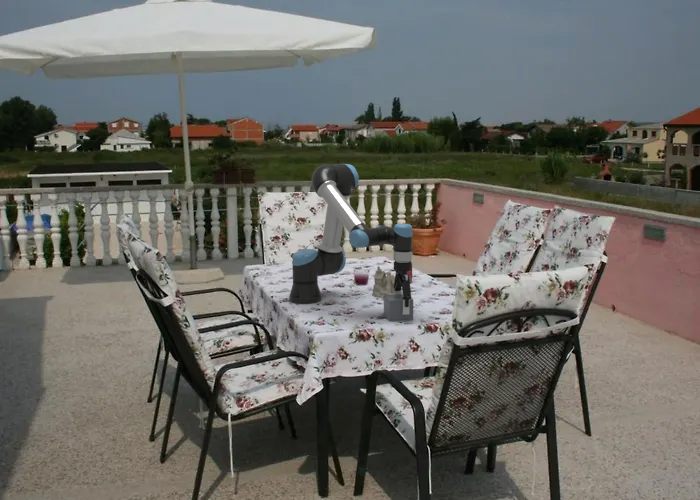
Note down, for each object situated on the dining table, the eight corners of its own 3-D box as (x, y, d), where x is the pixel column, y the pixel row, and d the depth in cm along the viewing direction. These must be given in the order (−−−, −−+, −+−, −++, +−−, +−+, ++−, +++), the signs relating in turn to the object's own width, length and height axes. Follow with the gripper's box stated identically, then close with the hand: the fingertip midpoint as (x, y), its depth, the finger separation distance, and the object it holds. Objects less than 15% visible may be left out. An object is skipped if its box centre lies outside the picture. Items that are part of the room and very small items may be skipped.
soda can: (403, 280, 355) (403, 258, 353) (414, 282, 351) (415, 260, 349) (395, 282, 350) (396, 260, 348) (407, 284, 346) (407, 262, 344)
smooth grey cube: (389, 321, 277) (389, 300, 275) (383, 315, 287) (383, 295, 285) (413, 320, 279) (413, 299, 277) (406, 313, 288) (406, 294, 287)
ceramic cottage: (392, 300, 313) (393, 268, 311) (365, 296, 323) (365, 265, 322) (411, 296, 325) (412, 265, 323) (385, 292, 335) (385, 262, 334)
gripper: (419, 266, 268) (418, 317, 271) (403, 255, 292) (402, 302, 296) (401, 267, 266) (400, 318, 270) (387, 255, 291) (386, 302, 294)
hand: (401, 310), depth 283 cm, fingers open, 13 cm apart
